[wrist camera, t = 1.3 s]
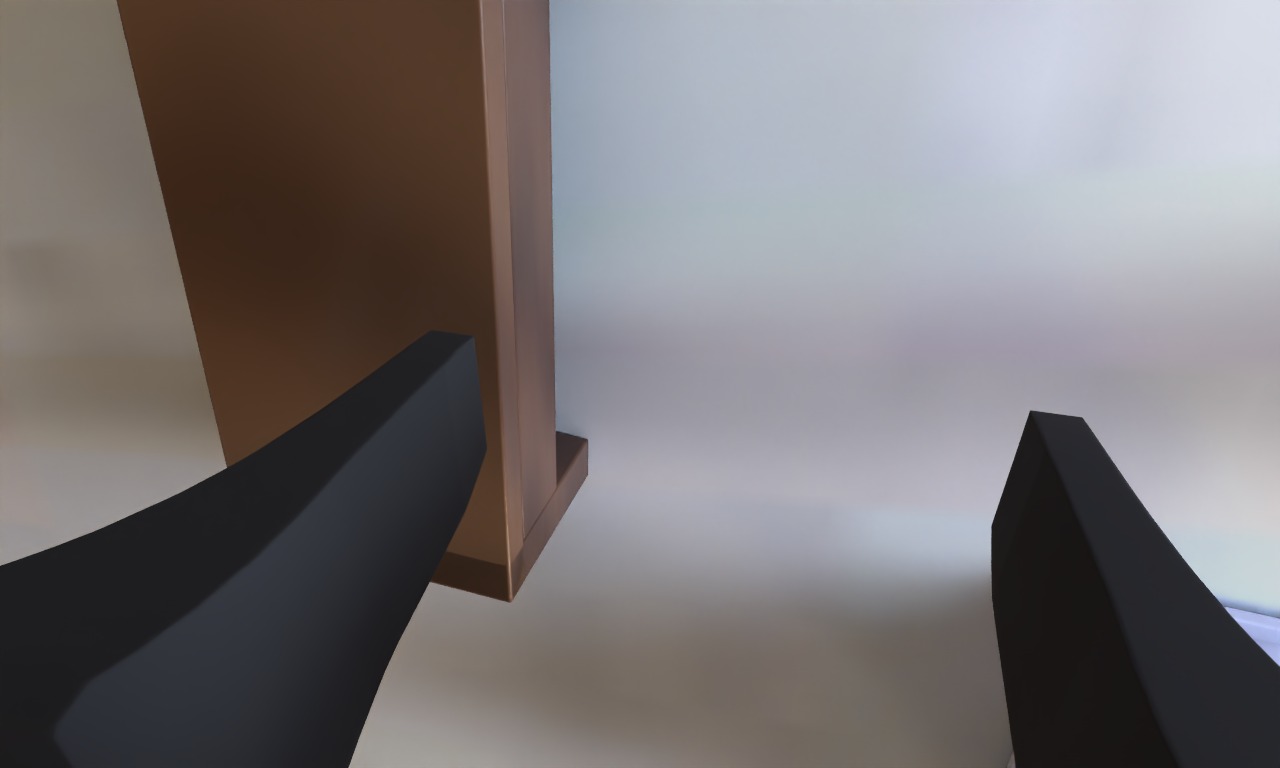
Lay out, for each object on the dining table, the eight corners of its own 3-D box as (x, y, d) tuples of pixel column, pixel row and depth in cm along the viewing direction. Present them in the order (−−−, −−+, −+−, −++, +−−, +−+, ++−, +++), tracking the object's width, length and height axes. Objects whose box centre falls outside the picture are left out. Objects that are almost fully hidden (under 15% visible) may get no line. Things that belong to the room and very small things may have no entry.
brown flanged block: (588, 475, 26) (511, 604, 22) (353, 422, 28) (241, 533, 24) (592, -119, 19) (476, -91, 14) (271, -142, 20) (85, -122, 16)
